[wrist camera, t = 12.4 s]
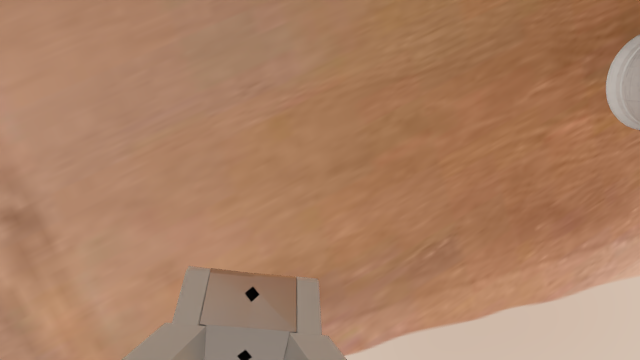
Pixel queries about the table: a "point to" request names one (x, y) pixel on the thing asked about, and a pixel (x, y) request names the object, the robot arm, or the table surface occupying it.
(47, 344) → the table surface
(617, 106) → the glass holder
